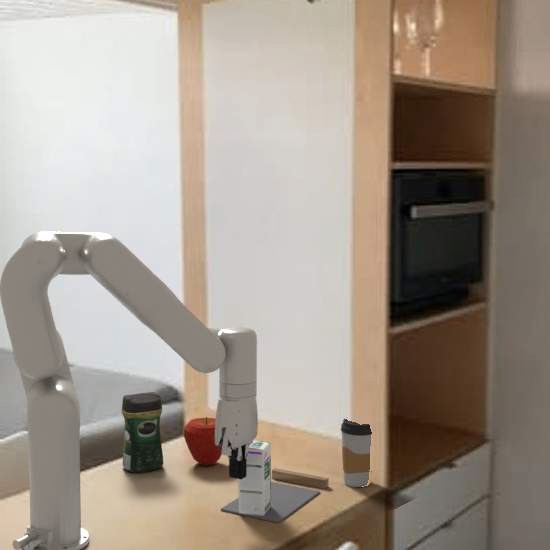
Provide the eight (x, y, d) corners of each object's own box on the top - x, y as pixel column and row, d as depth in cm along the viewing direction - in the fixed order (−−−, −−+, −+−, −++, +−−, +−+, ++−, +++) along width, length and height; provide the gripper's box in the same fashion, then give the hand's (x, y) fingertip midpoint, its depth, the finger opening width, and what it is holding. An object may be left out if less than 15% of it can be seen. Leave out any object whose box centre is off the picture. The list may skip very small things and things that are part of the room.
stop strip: (325, 488, 202) (325, 480, 202) (271, 478, 208) (271, 470, 208) (328, 486, 203) (328, 478, 203) (274, 476, 210) (275, 468, 209)
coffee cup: (382, 485, 204) (384, 422, 202) (353, 492, 200) (355, 427, 198) (360, 475, 211) (362, 414, 210) (332, 481, 207) (333, 418, 205)
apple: (174, 464, 218) (174, 416, 216) (206, 454, 226) (206, 408, 224) (206, 474, 210) (206, 425, 209) (237, 463, 218) (237, 416, 217)
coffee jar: (155, 460, 221) (155, 387, 218) (167, 469, 214) (166, 395, 211) (118, 465, 216) (117, 392, 214) (128, 475, 209) (127, 399, 207)
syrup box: (264, 516, 184) (265, 449, 182) (237, 513, 185) (237, 446, 184) (271, 506, 190) (272, 441, 188) (245, 503, 191) (245, 438, 189)
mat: (278, 523, 182) (278, 521, 182) (220, 510, 188) (220, 508, 188) (319, 492, 199) (320, 491, 199) (265, 482, 206) (265, 480, 206)
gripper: (240, 379, 186) (240, 463, 188) (202, 394, 172) (202, 485, 175) (272, 383, 182) (271, 469, 184) (234, 399, 169) (234, 492, 171)
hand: (237, 477), depth 179 cm, fingers closed
